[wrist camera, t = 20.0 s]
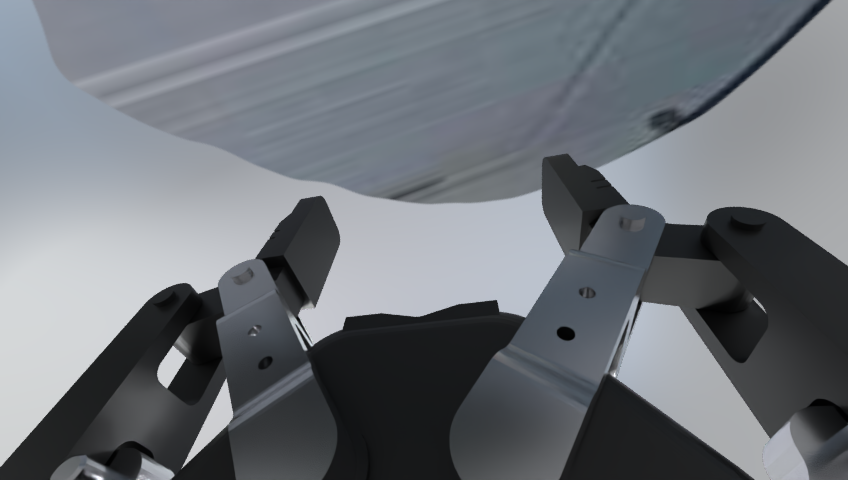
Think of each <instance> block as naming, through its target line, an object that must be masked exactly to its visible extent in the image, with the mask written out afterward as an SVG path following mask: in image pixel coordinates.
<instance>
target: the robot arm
mask: <svg viewBox="0 0 848 480" xmlns="http://www.w3.org/2000/svg"><path fill="white" fill-rule="evenodd" d="M542 205H543V211H544V214H545V216H546V218H547V220H548V222H549V224H550V226H551V228H552V230H553V232H554V234H555V236H556V238H557V240H558V242H559V244H560V246H561V248H562V250H563V252H564V254H565V257H564V259H563V261H562V262H561V264H560V265H559V267H558V268H557V270H556V272H555V273H554V275H553V276H552V278H551V279H550V281H549V283H548V284H547V286H546V287H545V289H544V290H543V292H542V294H541V295H540V297H539V298H538V300H537V301H536V303H535V304H534V306H533V307H532V309H531V311H530V312H529V314H528V315H527V317H526V318H525V317H522V316H519V315H515V314H510V313H504V312H499V308H498V303H497V300H493V301H485V302H476V303H467V304H458V305H455V306H452V307H449V308H446V309H443V310H440V311H436V312H434V313H430V314H427V315H424V316H420V317H411V316H401V315H391V314H382V313H380V314H371V315H363V316H354V317H346V319H345V323H344V326H343V330H340V331H338V332H335V333H333V334H331V335H329V336H327V337H325V338H323V339H322V340H320V341H319V342H317V343H316V344H314V343H313V341H312V339H311V337H310V335H309V333H308V332H307V329H306V327H305V326H304V324H303V322H302V320H301V318H300V317H299V315H298V314H299V312H300V310H304V309H312V308H315V307H316V304H317V302H318V299H319V296H320V294H321V291H322V289H323V286H324V284H325V281H326V278H327V276H328V273H329V271H330V268H331V266H332V263H333V260H334V258H335V255H336V253H337V250H338V248H339V245H340V235H339V231H338V228H337V226H336V224H335V221H334V220H333V217H332V214H331V212H330V210H329V207H328V205H327V203H326V201H325V199H324V198H323V197H322V196H316V197H311V198H305V199H301V200H300V201H299V203H298V204H297V205H296V207H295V208H294V210H293V212H292V213H291V214H290V215H288V216H287V217H286V218H285V219H284V220H282V221H281V222H280V223H279V225H278V226H277V228H276V229H275V232H274V233H273V234H272V235H271V237H270V240H268V241H267V242H266V244H265V245H264V247H263V248H262V249H261V251H260V252H259V254H258V255H257V257H256V259H253V260H248V261H245V262H242V263H240V264H238V265H236V266H234V267H232V268H231V269H230V270H228V271H227V272H226V273H225V274H224V275H223V276H222V277H221V279H220V280H219V283H218V287H217V288H214V289H211V290H208V291H205V292H202V293H199V294H198V293H197V292H196V291H195V290H194V289H193V288H192V286H191V285H190V284H187V283H182V284H176V285H173V286H171V287H168V288H166V289H164V290H162V291H161V292H159V293H157V294H156V295H154V296H153V297H152V298H151V299H149V300H148V301H147V302H146V303H145V304H144V306H143V307H142V308H141V309H140V310H139V311H138V312H137V314H136V315H135V316H134V317H133V318H132V319H131V320H130V321H129V323H128V324H127V325H126V326H125V327H124V328H123V329H122V330H121V331H120V333H119V334H118V335H117V336H116V337H115V338H114V339H113V341H112V342H111V343H110V344H109V345H108V346H107V347H106V349H105V350H104V351H103V352H102V353H101V354H100V355H99V356H98V357H97V359H96V360H95V361H94V362H93V363H92V364H91V365H90V367H89V368H88V369H87V370H86V371H85V372H84V373H83V374H82V376H81V377H80V378H79V379H78V380H77V381H76V382H75V383H74V385H73V386H72V387H71V388H70V389H69V391H67V393H66V394H65V395H64V396H63V397H62V398H61V399H60V401H59V402H58V403H57V404H56V405H55V406H54V407H53V408H52V410H51V411H50V412H49V413H48V414H47V415H46V416H45V417H44V418H43V420H42V421H41V422H40V423H39V424H38V425H37V427H36V428H35V429H34V430H33V431H32V432H31V433H30V434H29V435H28V437H27V438H26V439H25V440H24V441H23V442H22V443H21V445H20V446H19V447H18V448H17V449H16V450H15V452H13V454H12V455H11V456H10V457H9V458H8V459H7V460H6V461H5V463H4V464H3V465H2V466H1V467H0V480H754V479H753V478H752V477H750V476H749V475H748V474H747V473H745V472H744V471H743V470H742V469H740V468H739V467H738V466H736V465H735V464H734V463H732V462H731V461H729V460H728V459H727V458H725V457H724V456H722V455H721V454H720V453H718V452H717V451H716V450H714V449H713V448H711V447H710V446H709V445H707V444H706V443H704V442H703V441H702V440H700V439H699V438H698V437H696V436H695V435H693V434H692V433H691V432H689V431H688V430H687V429H685V428H684V427H682V426H681V425H680V424H678V423H677V422H675V421H674V420H673V419H671V418H670V417H668V416H667V415H666V414H664V413H663V412H662V411H660V410H659V409H658V408H656V407H655V406H653V405H652V404H651V403H649V402H648V401H646V400H645V399H643V398H642V397H641V396H640V395H638V394H637V393H635V392H634V391H633V390H631V389H630V388H628V387H627V386H626V385H624V384H623V383H622V382H620V381H619V380H617V375H618V373H619V370H620V367H621V363H622V360H623V357H624V354H625V351H626V348H627V346H628V343H629V340H630V337H631V335H632V332H633V329H634V326H635V324H636V321H637V318H638V316H639V313H640V310H641V307H642V305H643V302H649V303H657V304H665V305H673V306H679V307H680V308H681V310H682V311H683V313H684V314H685V316H686V317H687V319H688V320H689V322H690V323H691V324H692V326H693V327H694V329H695V330H696V332H697V333H698V335H699V336H700V337H701V339H702V340H703V342H704V343H705V345H706V346H707V348H708V349H709V350H710V352H711V353H712V355H713V356H714V358H715V359H716V361H717V362H718V363H719V365H720V366H721V368H722V369H723V370H724V372H725V374H726V375H727V377H728V378H729V379H730V380H731V382H732V384H733V385H734V387H735V388H736V390H737V391H738V393H739V394H740V395H741V397H742V398H743V400H744V401H745V403H746V404H747V406H748V407H749V408H750V410H751V411H752V413H753V414H754V416H755V417H756V419H757V420H758V421H759V423H760V424H761V426H762V427H763V429H764V430H765V432H766V433H767V435H768V436H769V437H770V440H769V441H768V442H767V443H766V444H765V447H764V449H763V454H762V457H763V463H764V466H765V470H766V472H767V474H768V476H769V478H770V480H848V266H847V265H845V264H844V263H843V262H841V261H840V260H838V259H837V258H836V257H834V256H833V255H832V254H830V253H829V252H827V251H826V250H825V249H823V248H822V247H820V246H819V245H818V244H816V243H815V242H813V241H812V240H810V239H809V238H808V237H806V236H805V235H804V234H802V233H801V232H799V231H798V230H797V229H795V228H793V227H792V226H791V225H790V224H788V223H787V222H785V221H784V220H782V219H781V218H779V217H777V216H775V215H773V214H771V213H768V212H765V211H761V210H757V209H753V208H745V207H725V208H720V209H716V210H714V211H712V212H711V213H709V215H708V216H707V219H706V222H705V224H704V225H680V224H668V223H665V219H664V217H663V216H662V215H661V214H660V213H659V212H657V211H655V210H653V209H651V208H648V207H645V206H639V205H630V204H629V203H628V202H627V201H626V200H625V199H624V198H623V197H622V196H621V195H620V193H619V192H617V190H616V189H615V188H614V187H612V186H611V184H610V183H609V182H608V181H607V180H605V177H604V176H603V175H602V174H601V173H600V172H599V171H597V170H596V169H593V168H591V167H589V166H586V165H583V166H578V165H577V164H576V163H575V162H574V161H573V159H572V158H571V157H570V156H569V155H568V154H562V155H556V156H550V157H545V158H544V159H543V163H542ZM754 297H755V298H756V299H757V300H758V301H759V302H760V303H761V304H762V306H763V307H764V309H765V311H766V313H767V314H766V313H765V312H764V311H763V310H762V309H761V308H760V306H759V305H758V304H757V303H756V302H755V301H754V300H753V298H754ZM172 346H174V347H175V348H176V349H177V350H179V351H180V352H181V353H182V354H183V355H184V356H185V357H186V360H185V362H184V363H183V364H182V366H181V368H180V369H179V371H178V372H177V374H176V375H175V377H174V379H173V380H172V382H171V384H170V385H169V387H168V388H165V387H164V386H163V385H162V384H161V383H160V382H159V381H158V377H157V371H158V367H159V365H160V363H161V362H162V360H163V359H164V357H165V356H166V355H167V353H168V352H169V350H170V349H171V347H172ZM226 377H227V383H228V388H229V393H230V398H231V404H232V409H233V419H232V420H231V421H230V423H229V425H227V426H226V427H225V428H224V429H223V430H222V431H221V432H220V433H219V434H218V435H217V436H216V437H215V438H214V439H213V440H212V441H211V442H210V443H208V445H206V446H205V447H204V448H203V449H202V450H201V451H200V452H199V453H198V454H197V455H196V456H195V457H194V458H193V459H192V460H191V461H189V462H188V463H187V464H186V465H185V466H184V467H183V468H182V466H183V464H184V462H185V460H186V458H187V456H188V454H189V452H190V450H191V448H192V446H193V444H194V442H195V440H196V438H197V436H198V434H199V432H200V430H201V428H202V425H203V424H204V422H205V420H206V418H207V415H208V414H209V412H210V410H211V408H212V406H213V404H214V402H215V400H216V398H217V396H218V394H219V392H220V389H221V387H222V385H223V383H224V381H225V379H226ZM181 468H182V469H181Z"/></svg>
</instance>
